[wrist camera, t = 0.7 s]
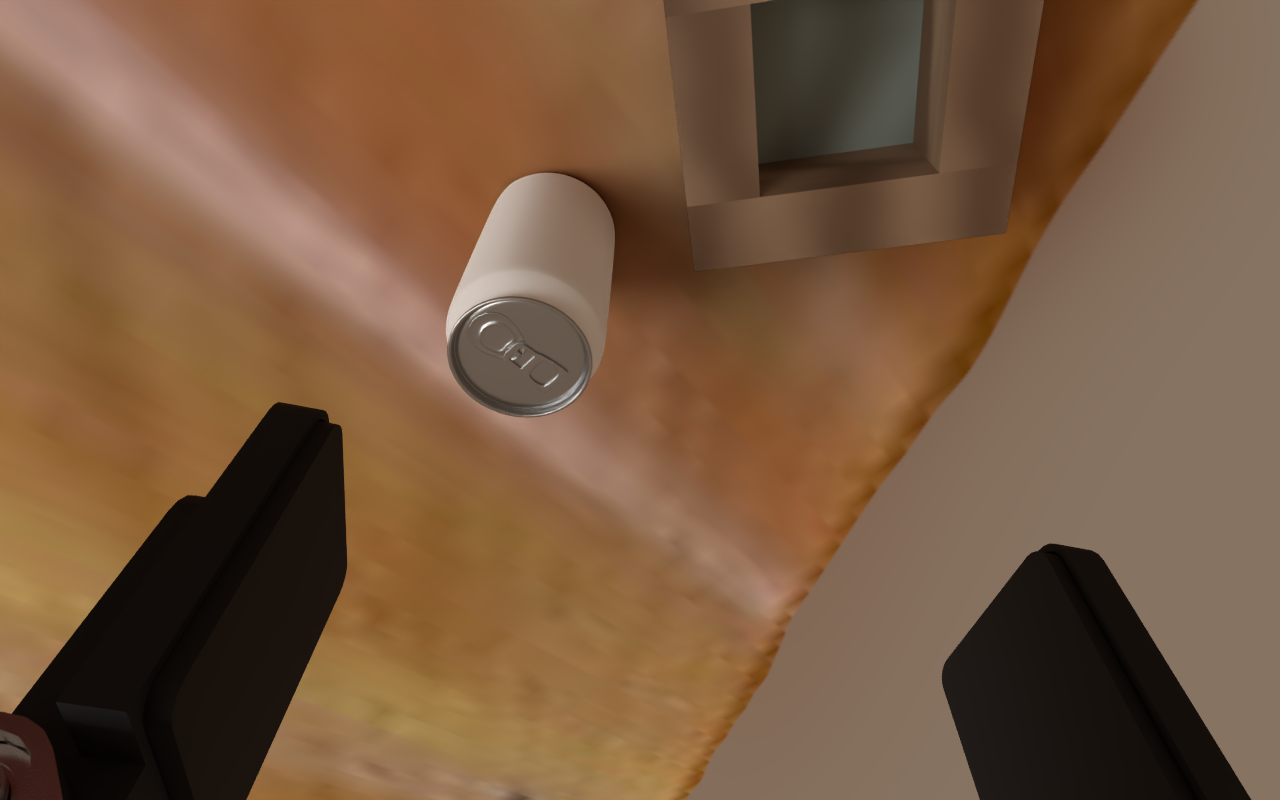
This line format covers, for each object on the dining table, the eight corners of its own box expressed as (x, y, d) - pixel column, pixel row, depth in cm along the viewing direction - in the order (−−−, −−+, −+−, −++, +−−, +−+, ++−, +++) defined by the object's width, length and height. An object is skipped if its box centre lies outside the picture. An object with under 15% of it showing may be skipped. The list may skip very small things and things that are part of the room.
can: (545, 141, 35) (505, 253, 26) (641, 230, 38) (638, 361, 28) (465, 230, 38) (402, 361, 29) (560, 307, 41) (531, 450, 31)
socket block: (690, 231, 38) (694, 271, 34) (654, -92, 30) (654, -83, 26) (971, 194, 37) (1005, 233, 33) (1016, -155, 28) (1069, -154, 25)
